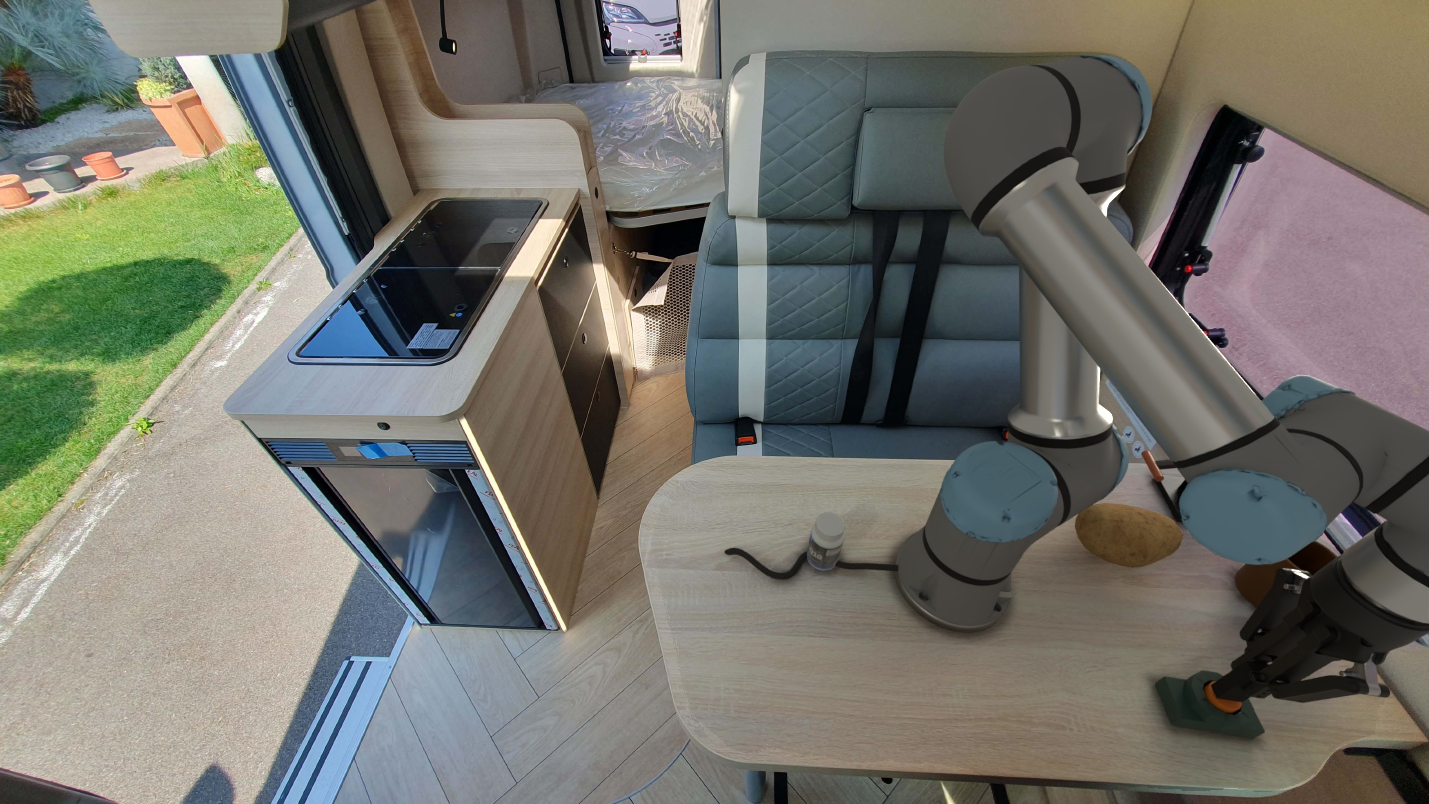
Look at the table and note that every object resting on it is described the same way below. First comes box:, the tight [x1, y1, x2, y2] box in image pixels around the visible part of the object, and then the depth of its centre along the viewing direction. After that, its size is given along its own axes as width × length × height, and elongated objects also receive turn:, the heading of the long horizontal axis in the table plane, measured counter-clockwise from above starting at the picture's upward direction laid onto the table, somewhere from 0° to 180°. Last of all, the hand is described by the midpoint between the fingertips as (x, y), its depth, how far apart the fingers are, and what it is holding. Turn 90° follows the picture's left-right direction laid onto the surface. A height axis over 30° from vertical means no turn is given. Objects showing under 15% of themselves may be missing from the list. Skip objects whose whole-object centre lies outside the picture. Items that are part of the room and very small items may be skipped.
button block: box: [1154, 669, 1266, 740], centre depth 69 cm, size 9×6×4 cm
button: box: [1203, 681, 1242, 714], centre depth 67 cm, size 3×3×2 cm
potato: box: [1074, 502, 1184, 569], centre depth 84 cm, size 10×14×8 cm
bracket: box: [1152, 474, 1188, 524], centre depth 89 cm, size 10×9×13 cm
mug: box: [1234, 540, 1339, 609], centre depth 77 cm, size 12×8×9 cm, turn 172°
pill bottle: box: [806, 511, 846, 571], centre depth 82 cm, size 5×5×8 cm
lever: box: [1140, 450, 1177, 482], centre depth 88 cm, size 13×6×2 cm, turn 81°
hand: (1226, 693), depth 67 cm, fingers closed
